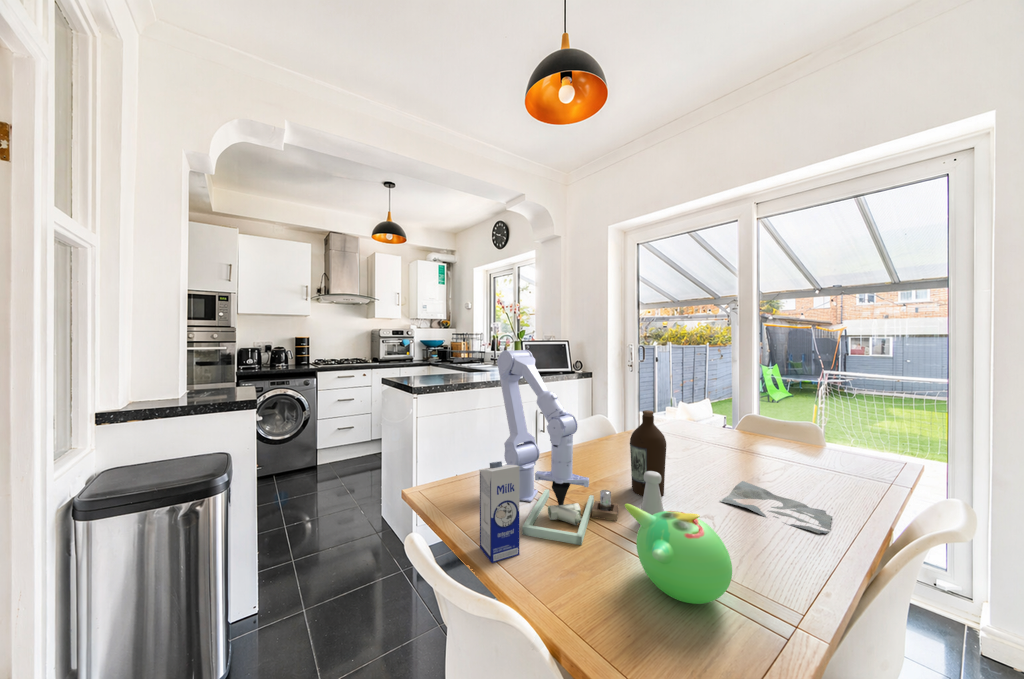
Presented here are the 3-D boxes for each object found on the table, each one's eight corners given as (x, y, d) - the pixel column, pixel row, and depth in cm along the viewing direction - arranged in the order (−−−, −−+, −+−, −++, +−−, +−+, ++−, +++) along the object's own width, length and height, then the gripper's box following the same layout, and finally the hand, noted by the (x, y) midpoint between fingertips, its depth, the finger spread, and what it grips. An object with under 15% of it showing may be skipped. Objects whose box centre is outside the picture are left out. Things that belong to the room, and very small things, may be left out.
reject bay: (522, 534, 93) (522, 526, 93) (545, 495, 115) (545, 489, 115) (581, 545, 88) (581, 536, 88) (593, 502, 110) (593, 495, 110)
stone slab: (841, 522, 101) (842, 514, 101) (824, 544, 92) (825, 535, 91) (741, 487, 121) (742, 480, 120) (718, 502, 111) (719, 495, 111)
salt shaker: (664, 519, 101) (664, 470, 100) (665, 529, 95) (665, 477, 95) (640, 515, 102) (640, 467, 102) (640, 525, 97) (640, 475, 97)
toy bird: (753, 622, 65) (754, 536, 64) (657, 628, 63) (657, 541, 63) (694, 559, 83) (694, 492, 82) (618, 563, 81) (618, 495, 81)
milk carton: (491, 563, 81) (490, 470, 81) (478, 547, 87) (478, 461, 87) (520, 554, 84) (520, 465, 84) (506, 540, 90) (506, 456, 90)
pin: (599, 515, 103) (599, 493, 103) (600, 510, 105) (600, 489, 105) (610, 516, 102) (610, 494, 102) (611, 512, 104) (611, 490, 104)
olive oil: (648, 482, 125) (649, 406, 125) (674, 495, 115) (674, 413, 115) (622, 488, 121) (622, 409, 120) (646, 501, 111) (646, 416, 111)
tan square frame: (592, 517, 102) (592, 510, 102) (594, 506, 108) (594, 500, 108) (616, 521, 100) (616, 514, 100) (618, 510, 106) (618, 503, 106)
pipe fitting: (585, 527, 97) (576, 513, 103) (585, 513, 96) (576, 499, 103) (555, 531, 95) (547, 516, 102) (555, 516, 95) (547, 502, 102)
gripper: (532, 461, 102) (531, 511, 102) (586, 467, 97) (586, 520, 98) (538, 453, 109) (538, 500, 109) (590, 458, 104) (589, 508, 104)
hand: (561, 508), depth 104 cm, fingers closed, pressing on pipe fitting
